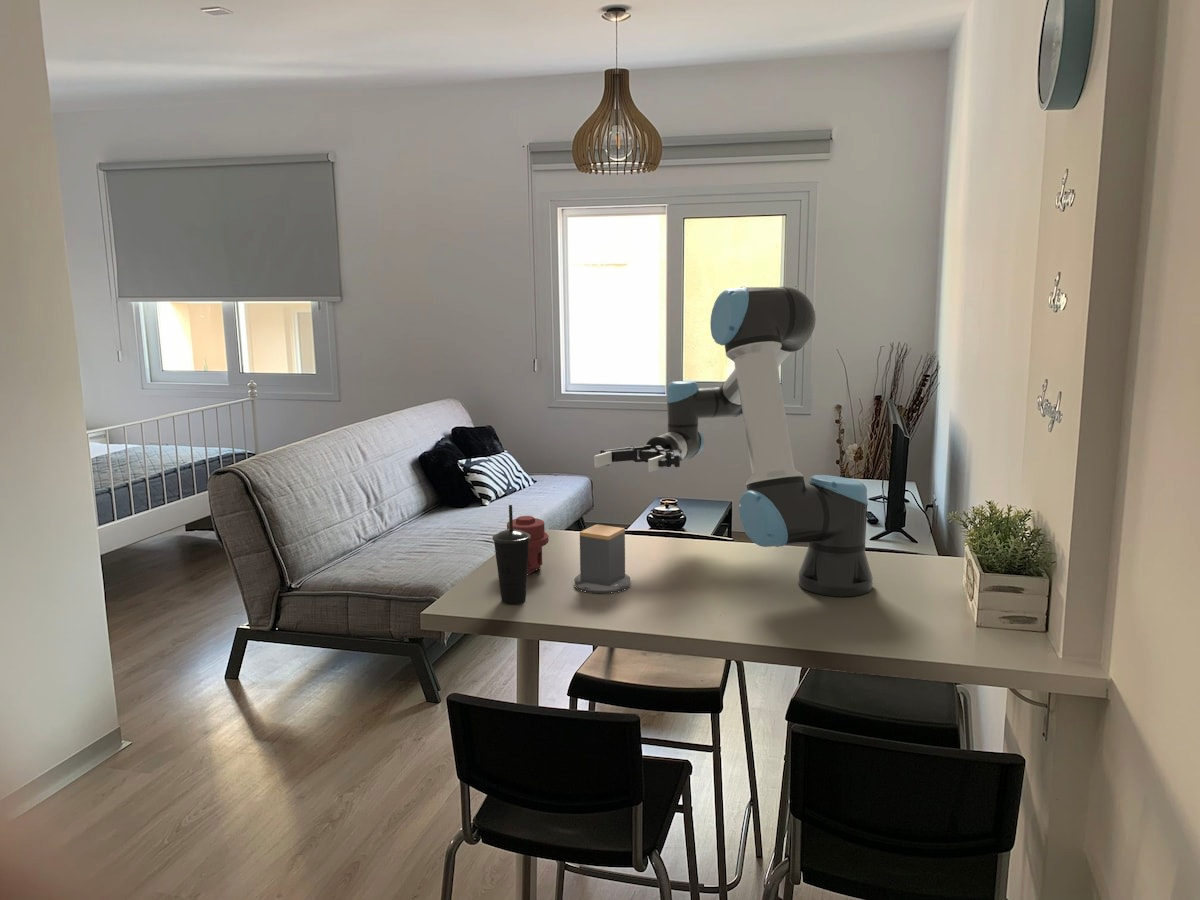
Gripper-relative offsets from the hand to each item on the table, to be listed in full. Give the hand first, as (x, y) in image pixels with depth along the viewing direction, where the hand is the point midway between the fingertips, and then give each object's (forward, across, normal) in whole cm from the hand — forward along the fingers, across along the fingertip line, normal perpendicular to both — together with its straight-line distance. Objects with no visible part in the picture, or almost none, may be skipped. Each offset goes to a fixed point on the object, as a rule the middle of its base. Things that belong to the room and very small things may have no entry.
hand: (622, 463), depth 198 cm
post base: (+10, 0, -25) cm, 27 cm away
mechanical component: (+10, +20, -24) cm, 33 cm away
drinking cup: (+27, +11, -25) cm, 39 cm away
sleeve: (+10, 0, -24) cm, 25 cm away
